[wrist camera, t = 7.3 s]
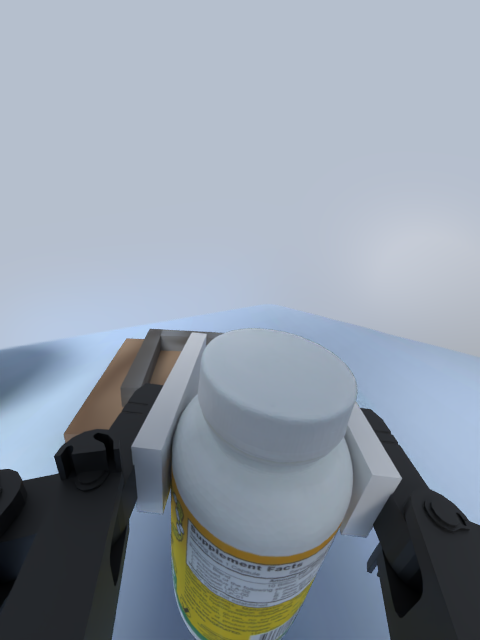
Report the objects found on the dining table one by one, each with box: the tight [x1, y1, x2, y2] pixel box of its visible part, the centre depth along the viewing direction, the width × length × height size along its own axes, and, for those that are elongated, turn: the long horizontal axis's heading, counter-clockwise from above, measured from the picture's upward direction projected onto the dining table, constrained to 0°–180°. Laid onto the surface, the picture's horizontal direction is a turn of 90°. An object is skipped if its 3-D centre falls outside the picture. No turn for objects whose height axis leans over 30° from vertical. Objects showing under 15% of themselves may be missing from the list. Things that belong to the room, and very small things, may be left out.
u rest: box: [64, 329, 224, 442], centre depth 24 cm, size 18×14×3 cm
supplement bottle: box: [171, 328, 357, 640], centre depth 8 cm, size 5×5×10 cm
